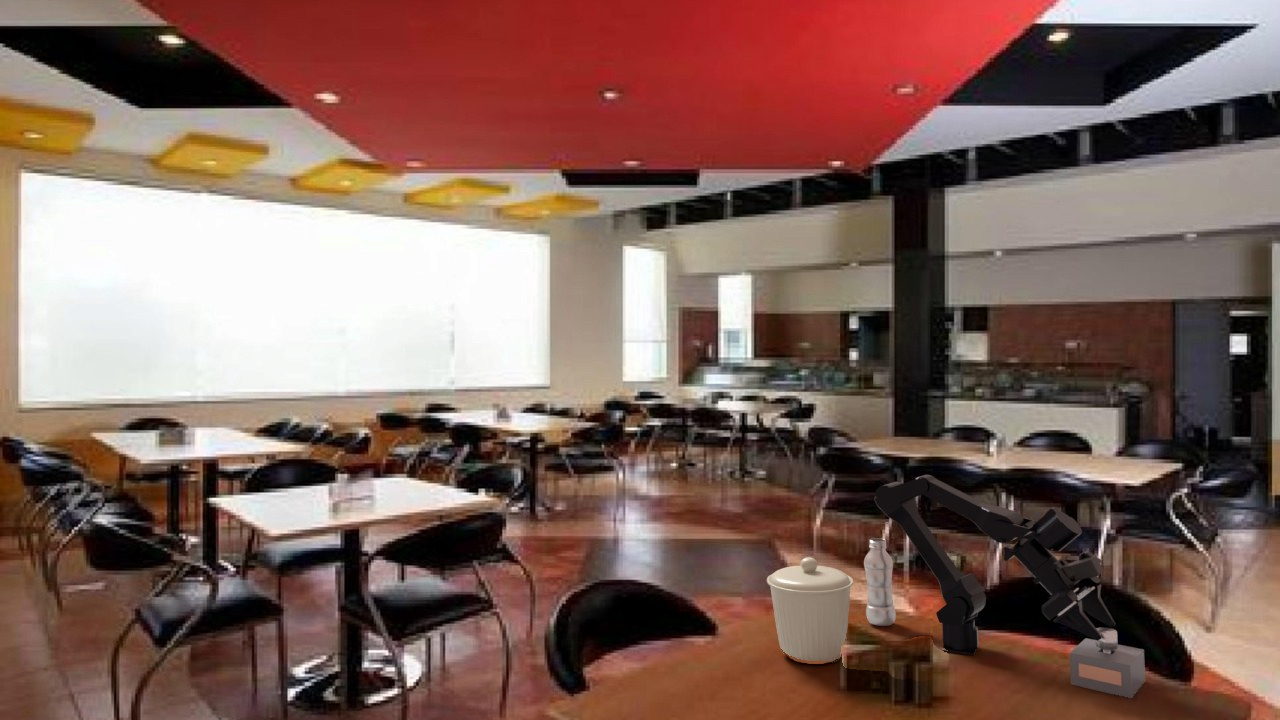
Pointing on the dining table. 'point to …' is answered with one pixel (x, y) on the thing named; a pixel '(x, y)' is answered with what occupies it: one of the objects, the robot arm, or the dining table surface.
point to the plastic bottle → (879, 584)
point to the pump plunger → (1107, 640)
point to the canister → (811, 610)
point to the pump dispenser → (1107, 668)
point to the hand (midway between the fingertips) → (1106, 632)
